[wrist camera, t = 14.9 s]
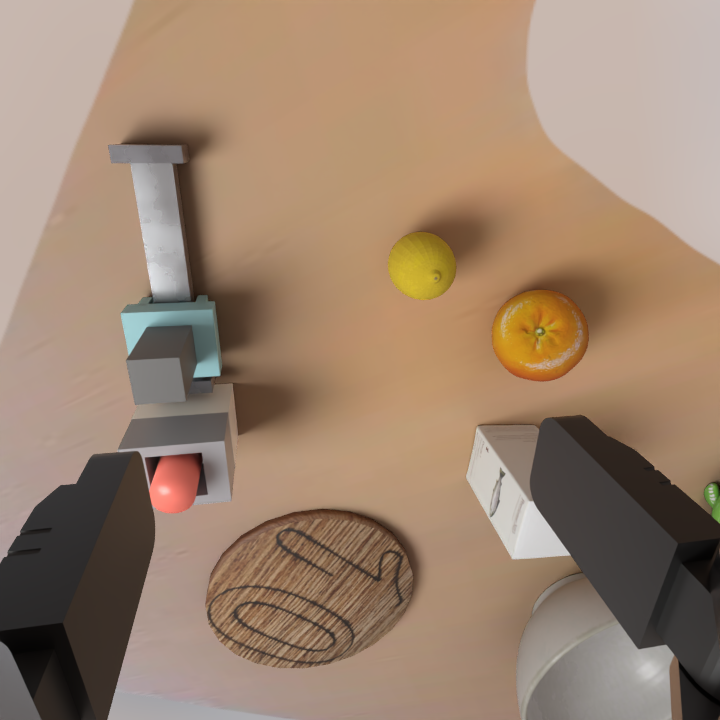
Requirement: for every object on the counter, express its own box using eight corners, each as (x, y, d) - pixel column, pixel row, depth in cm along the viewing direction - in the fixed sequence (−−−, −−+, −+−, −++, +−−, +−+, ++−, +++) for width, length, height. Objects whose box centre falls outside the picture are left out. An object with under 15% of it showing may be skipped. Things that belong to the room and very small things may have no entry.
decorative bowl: (680, 601, 76) (749, 680, 65) (531, 689, 78) (573, 778, 68) (621, 498, 64) (694, 573, 53) (449, 606, 67) (485, 697, 56)
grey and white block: (145, 389, 47) (116, 449, 38) (232, 383, 48) (224, 440, 39) (155, 442, 49) (131, 511, 40) (238, 435, 50) (232, 501, 41)
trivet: (284, 474, 54) (285, 485, 52) (448, 554, 63) (453, 566, 62) (167, 620, 60) (164, 634, 58) (333, 674, 69) (334, 687, 67)
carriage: (133, 297, 43) (94, 345, 33) (216, 294, 44) (203, 339, 34) (144, 361, 45) (112, 421, 36) (223, 356, 46) (212, 414, 37)
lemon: (381, 288, 47) (402, 316, 39) (378, 228, 44) (399, 246, 37) (438, 280, 47) (469, 307, 40) (437, 221, 45) (470, 238, 38)
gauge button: (160, 435, 42) (144, 479, 37) (201, 431, 42) (192, 475, 37) (166, 468, 43) (152, 515, 38) (206, 464, 44) (198, 510, 38)
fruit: (487, 278, 48) (526, 304, 41) (567, 281, 50) (618, 306, 42) (472, 358, 51) (506, 395, 44) (547, 358, 53) (591, 393, 46)
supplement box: (475, 423, 55) (529, 499, 44) (535, 423, 56) (603, 496, 45) (463, 477, 58) (510, 561, 47) (521, 476, 59) (581, 557, 48)
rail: (120, 144, 38) (108, 145, 35) (187, 144, 39) (181, 145, 36) (160, 380, 47) (154, 396, 44) (215, 376, 47) (212, 392, 44)
